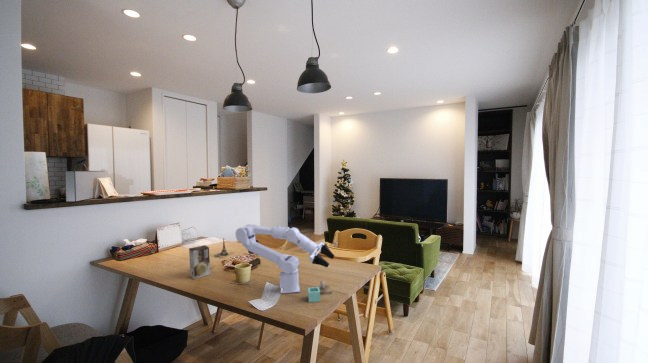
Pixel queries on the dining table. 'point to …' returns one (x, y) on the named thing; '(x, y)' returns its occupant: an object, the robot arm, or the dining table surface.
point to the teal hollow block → (314, 294)
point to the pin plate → (324, 288)
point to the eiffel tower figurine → (222, 251)
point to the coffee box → (199, 261)
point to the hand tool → (255, 261)
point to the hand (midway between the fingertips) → (330, 261)
